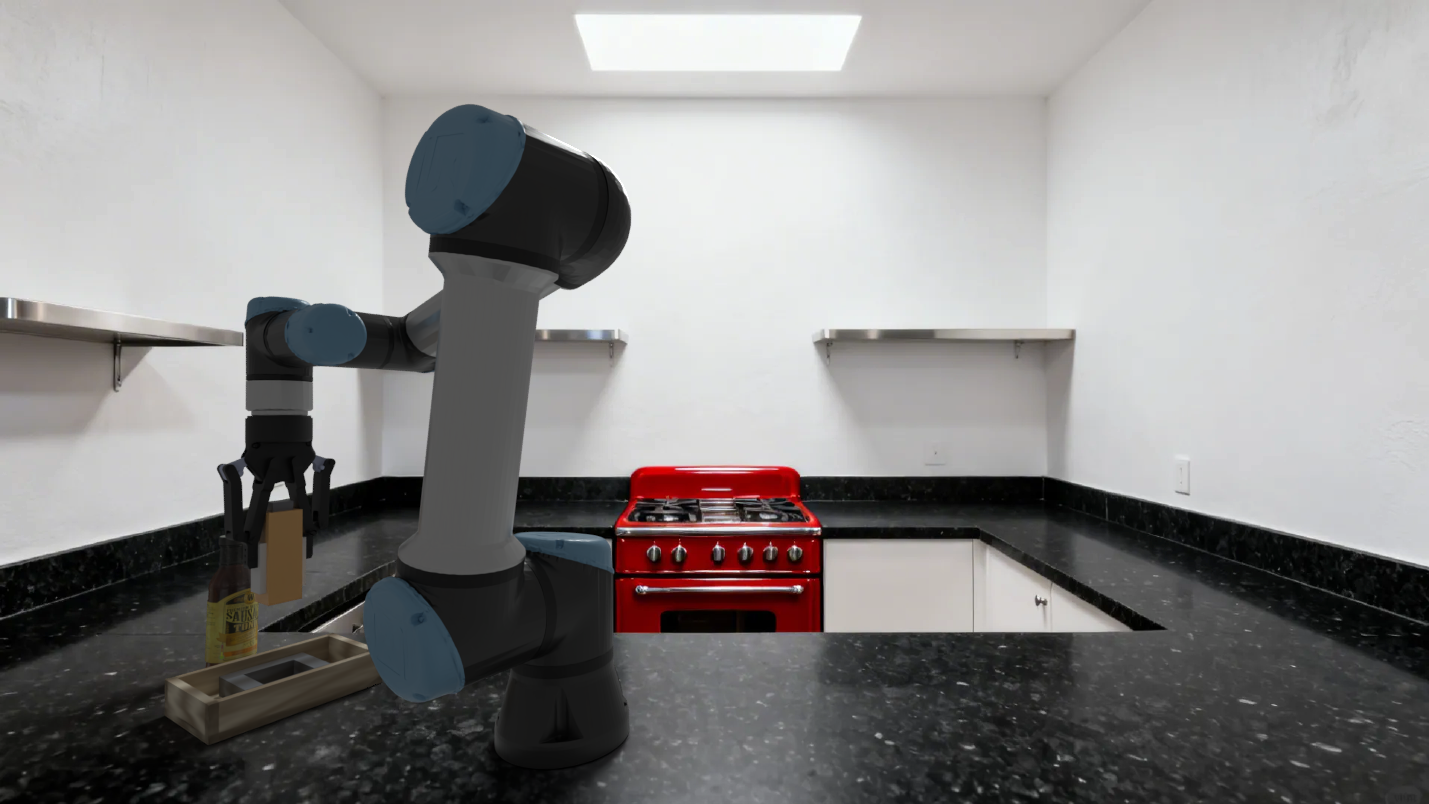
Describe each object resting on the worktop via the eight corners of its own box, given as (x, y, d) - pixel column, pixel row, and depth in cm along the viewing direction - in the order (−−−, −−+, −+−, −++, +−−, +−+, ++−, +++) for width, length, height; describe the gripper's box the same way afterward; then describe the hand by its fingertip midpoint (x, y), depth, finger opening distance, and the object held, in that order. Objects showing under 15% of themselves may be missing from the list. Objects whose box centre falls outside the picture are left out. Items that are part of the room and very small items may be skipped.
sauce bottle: (228, 678, 91) (229, 539, 91) (193, 675, 92) (194, 538, 92) (269, 661, 97) (269, 531, 98) (235, 658, 98) (236, 531, 99)
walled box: (382, 682, 88) (382, 649, 88) (208, 745, 72) (208, 705, 72) (332, 662, 96) (332, 632, 96) (164, 715, 79) (164, 679, 79)
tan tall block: (302, 598, 85) (302, 500, 85) (268, 606, 81) (268, 504, 82) (288, 594, 87) (288, 498, 87) (254, 601, 84) (255, 502, 84)
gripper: (332, 413, 94) (332, 571, 93) (190, 414, 80) (188, 599, 79) (359, 413, 90) (358, 577, 89) (214, 413, 76) (212, 609, 75)
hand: (278, 587), depth 84 cm, fingers closed on tan tall block, 4 cm apart
